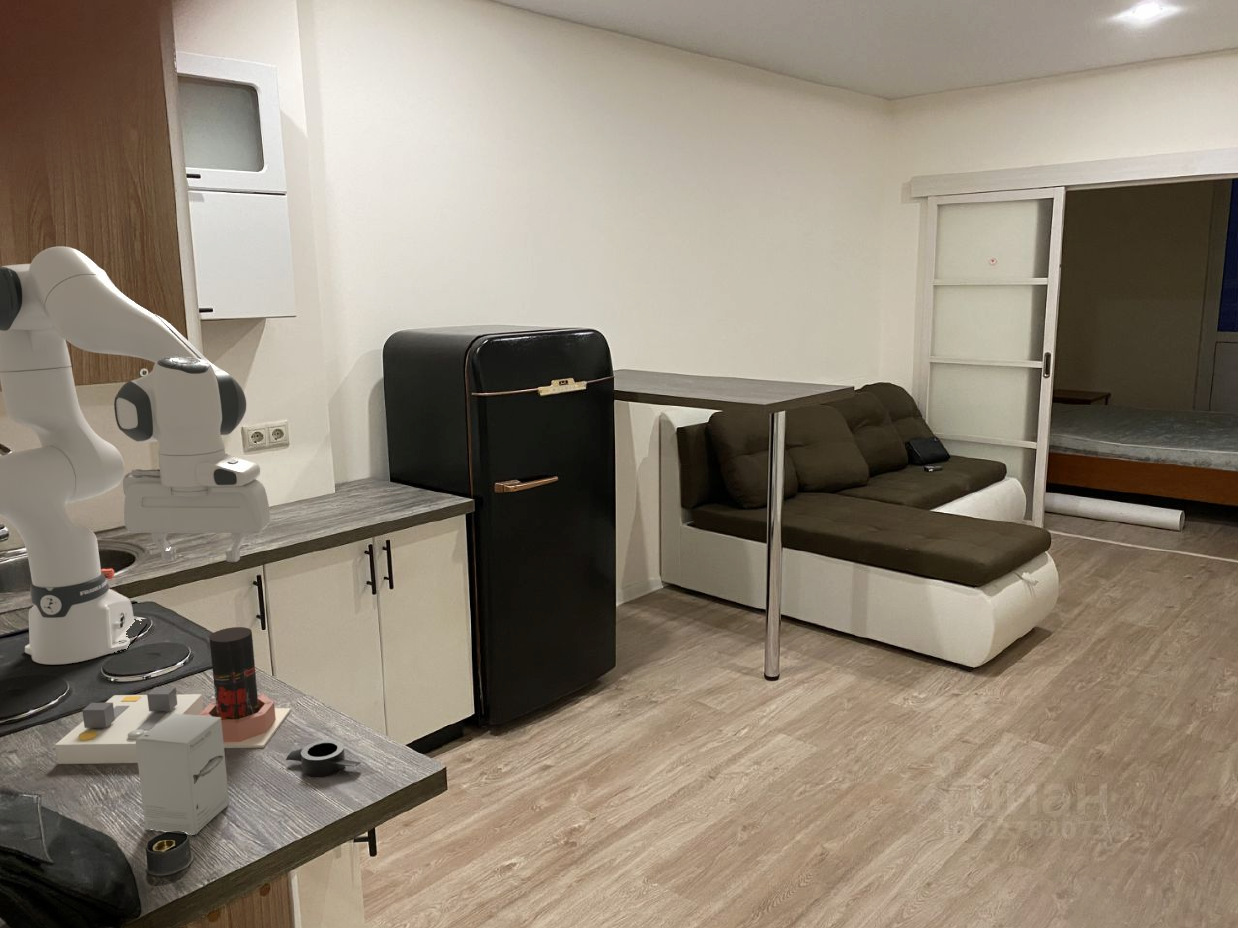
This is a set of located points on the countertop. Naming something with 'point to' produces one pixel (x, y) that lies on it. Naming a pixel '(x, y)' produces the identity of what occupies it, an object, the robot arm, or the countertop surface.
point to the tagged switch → (98, 715)
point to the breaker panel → (120, 731)
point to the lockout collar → (251, 725)
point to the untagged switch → (162, 699)
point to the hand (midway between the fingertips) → (201, 560)
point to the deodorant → (234, 673)
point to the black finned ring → (322, 758)
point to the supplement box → (182, 773)
